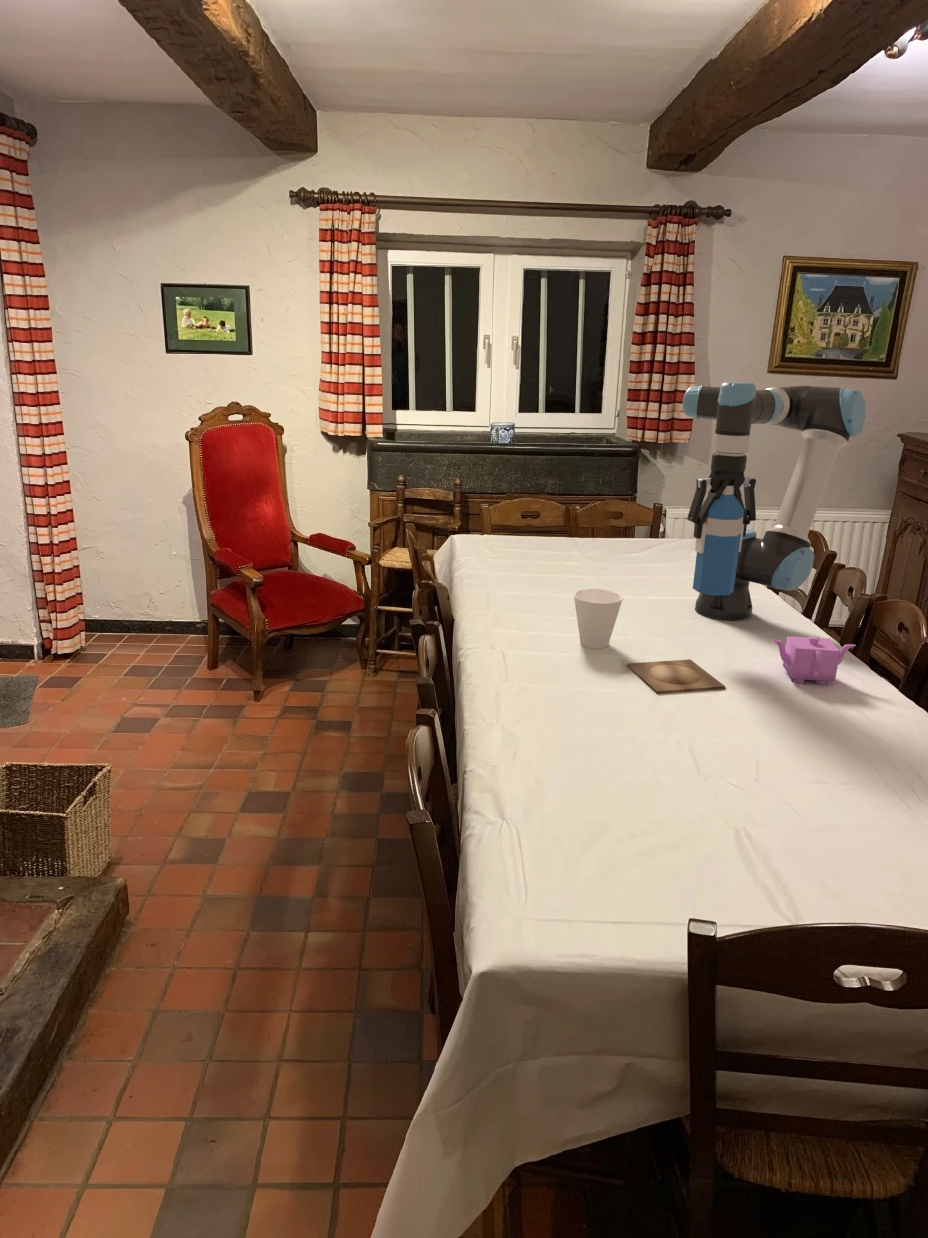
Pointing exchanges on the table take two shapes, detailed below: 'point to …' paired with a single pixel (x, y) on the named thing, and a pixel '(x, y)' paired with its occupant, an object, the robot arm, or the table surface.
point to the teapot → (811, 658)
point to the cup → (596, 616)
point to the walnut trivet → (674, 676)
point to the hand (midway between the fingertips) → (717, 551)
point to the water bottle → (720, 546)
